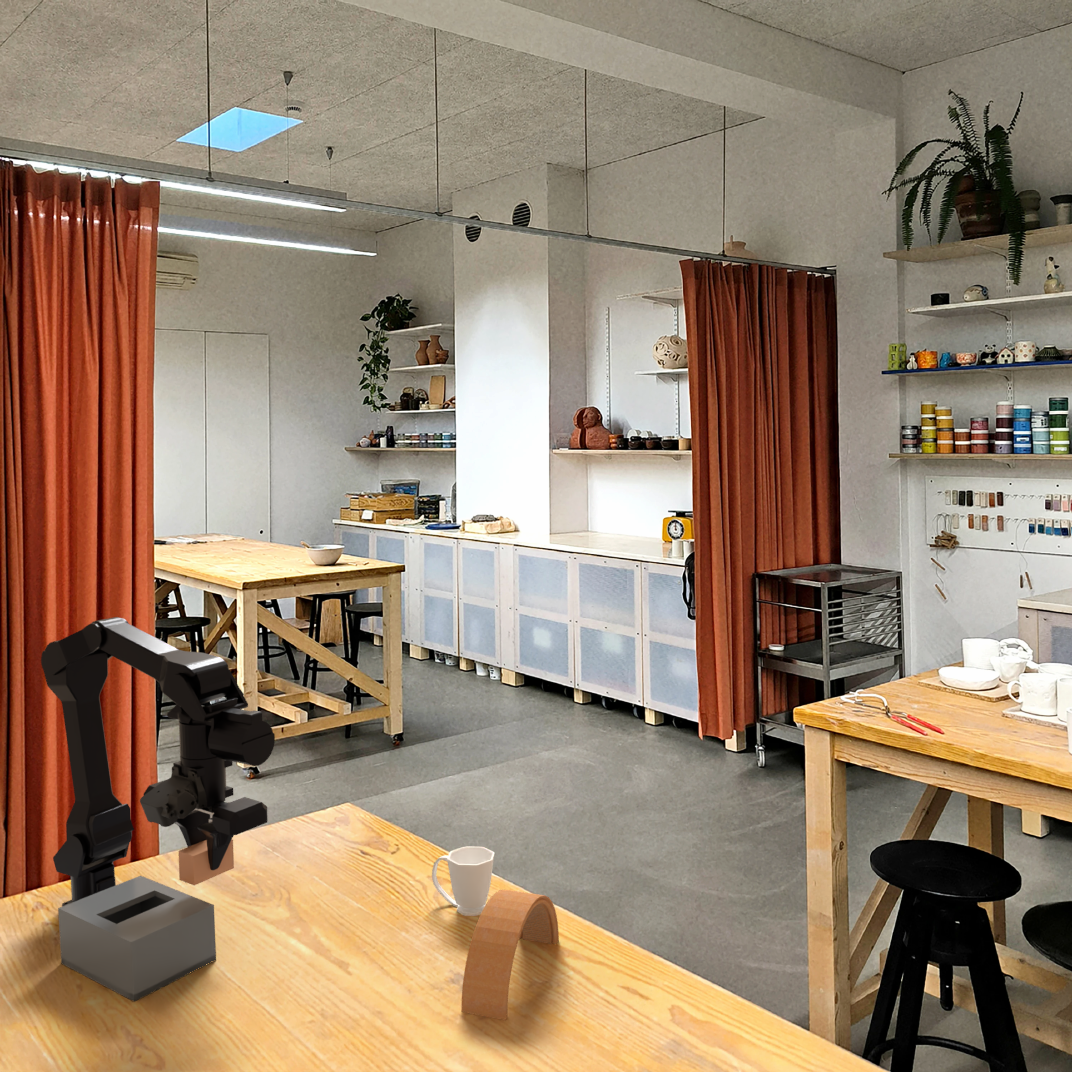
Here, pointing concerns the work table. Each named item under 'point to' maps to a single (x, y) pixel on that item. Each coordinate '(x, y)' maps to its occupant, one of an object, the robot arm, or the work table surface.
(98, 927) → the box
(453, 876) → the cup
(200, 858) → the block
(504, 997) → the arch
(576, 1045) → the work table surface
